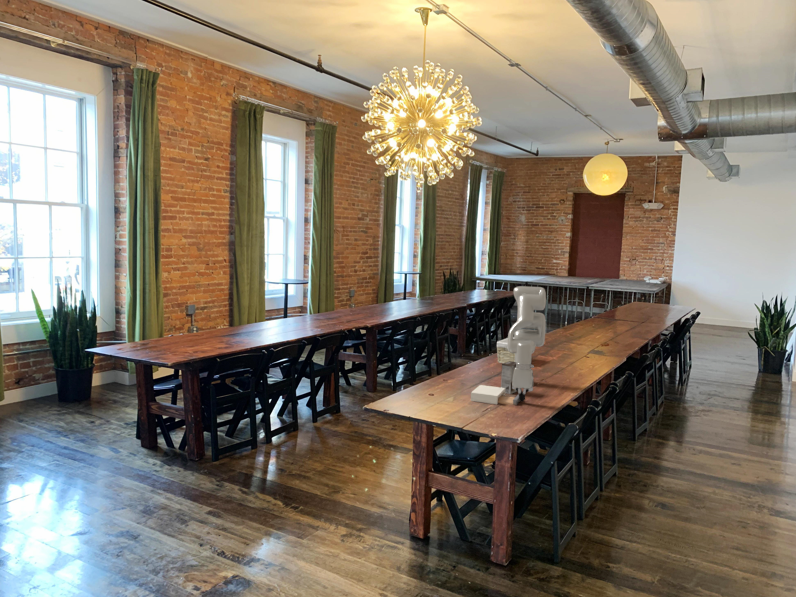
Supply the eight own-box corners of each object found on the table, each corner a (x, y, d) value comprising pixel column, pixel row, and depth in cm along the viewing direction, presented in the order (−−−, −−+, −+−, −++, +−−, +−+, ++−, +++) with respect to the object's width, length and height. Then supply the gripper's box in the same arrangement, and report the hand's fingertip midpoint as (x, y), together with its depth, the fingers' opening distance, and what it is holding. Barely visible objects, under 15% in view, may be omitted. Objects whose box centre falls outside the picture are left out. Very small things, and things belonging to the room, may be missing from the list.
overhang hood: (479, 392, 319) (480, 384, 319) (504, 396, 314) (505, 388, 313) (470, 400, 304) (471, 392, 303) (497, 404, 298) (497, 395, 298)
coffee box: (508, 388, 329) (509, 360, 327) (518, 391, 325) (519, 362, 323) (500, 392, 322) (501, 363, 320) (510, 394, 318) (511, 365, 316)
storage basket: (517, 366, 386) (518, 344, 384) (494, 362, 395) (495, 341, 393) (530, 360, 406) (531, 339, 404) (508, 356, 415) (509, 336, 413)
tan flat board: (489, 396, 314) (489, 390, 314) (520, 400, 307) (520, 394, 307) (483, 401, 304) (483, 395, 304) (516, 405, 297) (516, 400, 297)
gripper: (539, 366, 300) (537, 401, 302) (510, 363, 306) (509, 397, 308) (536, 369, 293) (535, 404, 295) (507, 366, 299) (505, 400, 301)
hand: (521, 400), depth 301 cm, fingers closed
